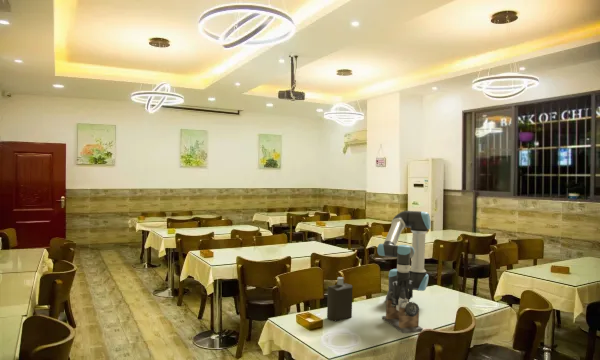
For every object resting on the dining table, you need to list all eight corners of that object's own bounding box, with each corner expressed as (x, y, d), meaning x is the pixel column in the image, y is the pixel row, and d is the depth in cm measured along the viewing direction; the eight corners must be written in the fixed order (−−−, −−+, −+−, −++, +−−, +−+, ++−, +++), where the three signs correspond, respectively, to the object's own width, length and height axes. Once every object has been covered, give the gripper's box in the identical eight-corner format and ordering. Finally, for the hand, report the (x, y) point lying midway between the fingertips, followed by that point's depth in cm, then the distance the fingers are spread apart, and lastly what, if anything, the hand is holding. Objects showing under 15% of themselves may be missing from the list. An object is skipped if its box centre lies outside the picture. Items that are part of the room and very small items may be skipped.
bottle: (353, 317, 264) (354, 277, 263) (333, 322, 254) (335, 281, 254) (344, 313, 270) (345, 274, 270) (325, 318, 261) (326, 278, 260)
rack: (402, 333, 239) (403, 311, 239) (382, 318, 262) (382, 298, 262) (422, 330, 243) (423, 309, 243) (400, 316, 266) (401, 297, 266)
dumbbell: (406, 317, 241) (406, 303, 240) (386, 304, 262) (386, 292, 262) (418, 315, 243) (419, 302, 243) (397, 303, 265) (398, 291, 265)
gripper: (393, 273, 246) (392, 313, 246) (419, 271, 251) (418, 310, 252) (386, 270, 253) (385, 309, 253) (412, 269, 258) (411, 306, 259)
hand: (402, 309), depth 252 cm, fingers closed on dumbbell, 5 cm apart
